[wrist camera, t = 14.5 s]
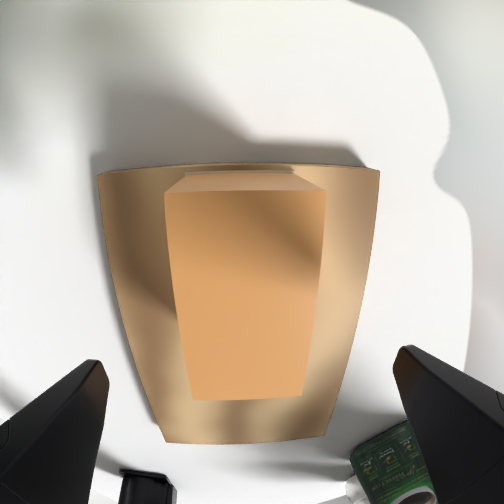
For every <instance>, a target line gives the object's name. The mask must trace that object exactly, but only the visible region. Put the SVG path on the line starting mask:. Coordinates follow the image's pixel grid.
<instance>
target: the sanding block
mask: <svg viewBox="0 0 504 504" xmlns="http://www.w3.org/2000/svg"><path fill="white" fill-rule="evenodd" d="M326 196H327V191H326V190H324V189H322V188H320V187H318V186H317V185H315V184H313V183H311V182H309V181H307V180H305V179H303V178H302V177H300V176H298V175H296V171H284V170H232V171H199V172H185V177H184V178H182V179H181V180H180V181H178V182H177V183H176V184H175V185H173V186H172V187H171V188H170V189H168V190H167V191H166V192H165V193H164V205H165V218H166V229H167V240H168V250H169V259H170V268H171V276H172V284H173V291H174V298H175V305H176V312H177V318H178V325H179V331H180V337H181V342H182V348H183V354H184V359H185V364H186V369H187V374H188V379H189V384H190V389H191V393H192V398H193V400H251V399H268V398H280V397H291V396H300V395H302V392H303V386H304V381H305V375H306V369H307V363H308V357H309V351H310V345H311V338H312V331H313V325H314V317H315V310H316V302H317V294H318V286H319V277H320V268H321V258H322V248H323V237H324V225H325V211H326Z"/></svg>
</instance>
